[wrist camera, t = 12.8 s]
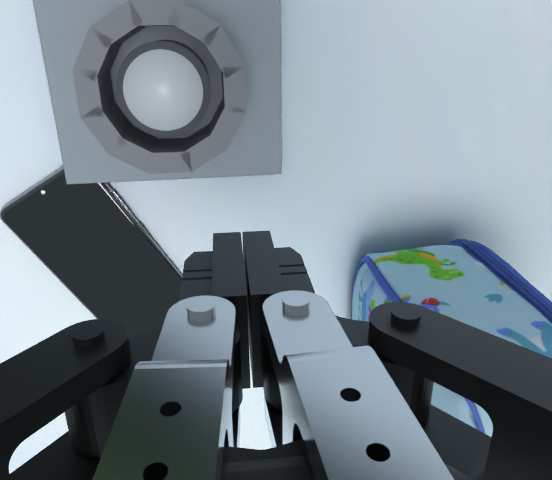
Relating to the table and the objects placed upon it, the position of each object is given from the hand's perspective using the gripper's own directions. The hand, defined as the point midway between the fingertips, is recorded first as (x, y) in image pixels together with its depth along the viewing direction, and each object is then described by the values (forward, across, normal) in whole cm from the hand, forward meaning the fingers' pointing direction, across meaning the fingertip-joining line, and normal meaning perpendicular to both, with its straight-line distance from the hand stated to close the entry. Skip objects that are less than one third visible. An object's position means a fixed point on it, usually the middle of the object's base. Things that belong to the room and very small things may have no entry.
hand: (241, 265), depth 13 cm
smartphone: (+22, +9, +10) cm, 26 cm away
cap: (+20, +4, -3) cm, 21 cm away
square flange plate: (+22, +4, -3) cm, 22 cm away
